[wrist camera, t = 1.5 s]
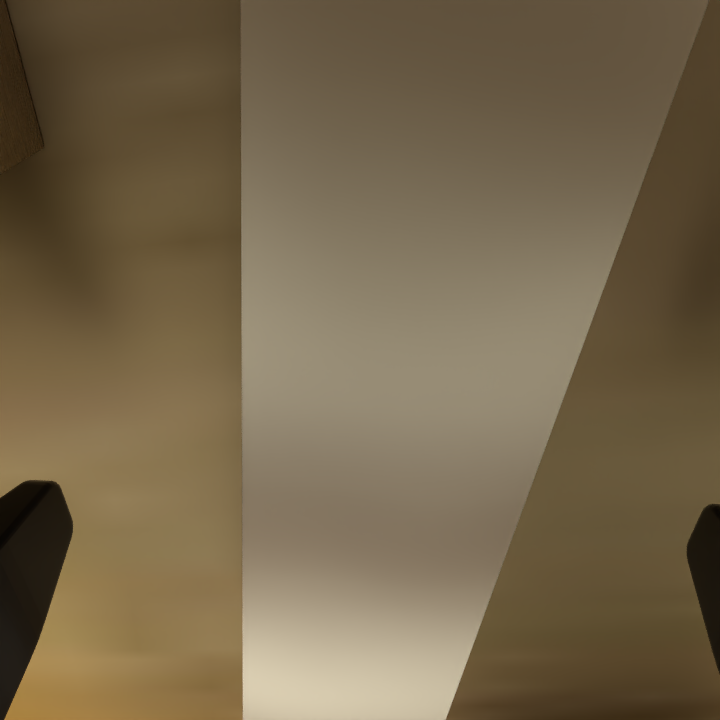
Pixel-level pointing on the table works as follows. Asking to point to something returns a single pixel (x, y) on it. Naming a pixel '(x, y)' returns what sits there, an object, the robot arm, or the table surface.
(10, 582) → the robot arm
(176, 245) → the table surface
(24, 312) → the table surface
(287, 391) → the rail
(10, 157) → the bracket
